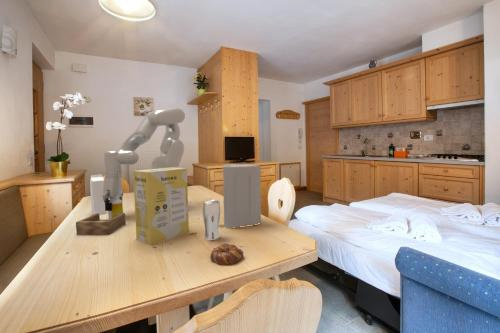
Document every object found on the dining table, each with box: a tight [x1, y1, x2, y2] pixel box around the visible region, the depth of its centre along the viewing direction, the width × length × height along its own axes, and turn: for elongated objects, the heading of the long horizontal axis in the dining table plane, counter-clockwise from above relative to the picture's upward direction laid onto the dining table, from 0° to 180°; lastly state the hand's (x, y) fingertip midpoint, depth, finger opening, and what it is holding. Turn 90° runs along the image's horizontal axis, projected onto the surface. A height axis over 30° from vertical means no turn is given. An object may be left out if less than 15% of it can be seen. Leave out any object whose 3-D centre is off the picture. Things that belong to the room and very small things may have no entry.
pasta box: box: [132, 167, 190, 246], centre depth 106 cm, size 18×10×28 cm, turn 143°
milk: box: [89, 173, 107, 215], centre depth 144 cm, size 6×6×22 cm
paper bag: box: [222, 163, 262, 229], centre depth 121 cm, size 19×15×28 cm
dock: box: [75, 212, 126, 236], centre depth 116 cm, size 14×14×6 cm
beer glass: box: [202, 199, 221, 241], centre depth 103 cm, size 7×7×15 cm
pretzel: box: [209, 243, 244, 265], centre depth 86 cm, size 12×11×4 cm
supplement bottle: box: [107, 195, 124, 220], centre depth 131 cm, size 7×7×13 cm
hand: (114, 208), depth 130 cm, fingers open, 9 cm apart
